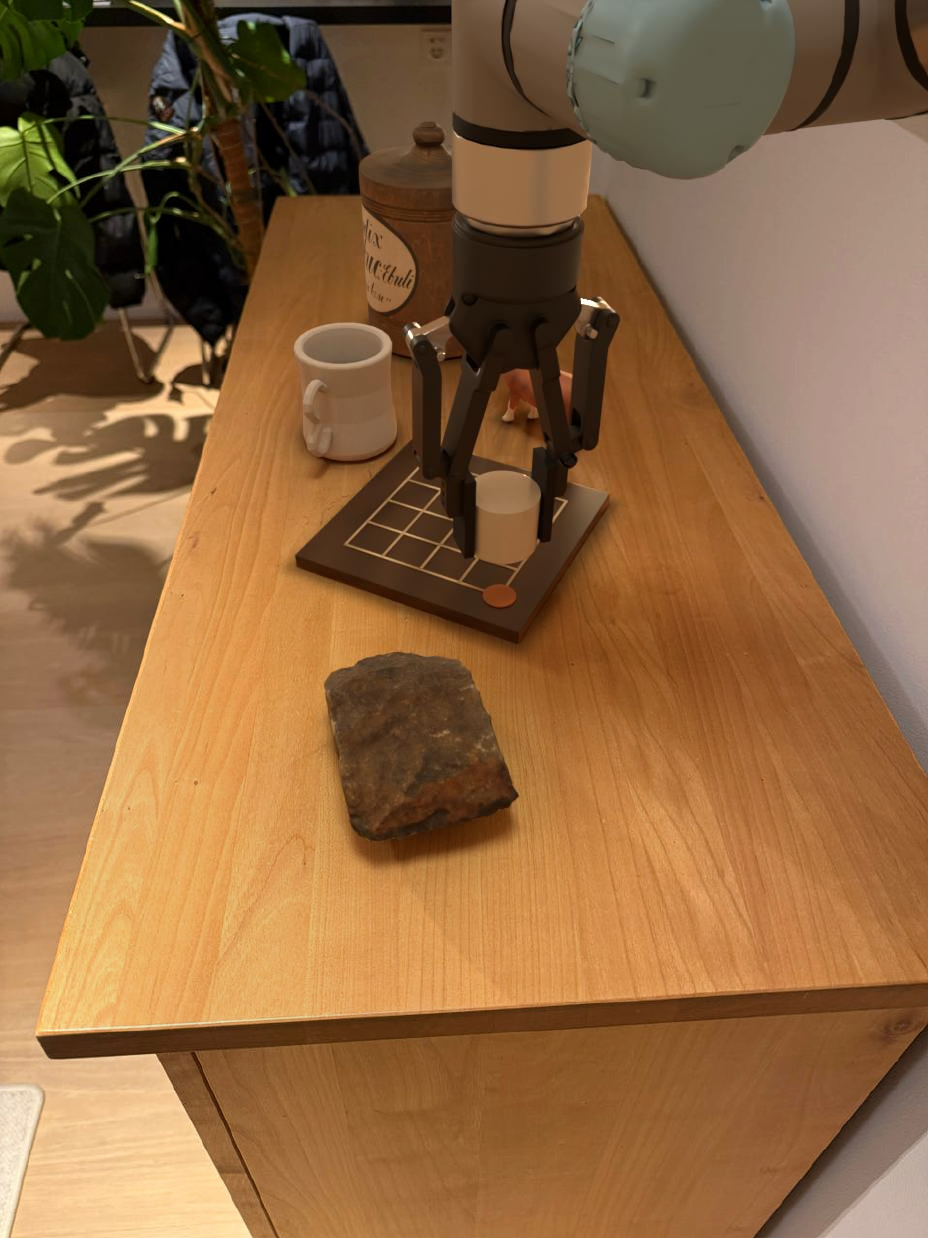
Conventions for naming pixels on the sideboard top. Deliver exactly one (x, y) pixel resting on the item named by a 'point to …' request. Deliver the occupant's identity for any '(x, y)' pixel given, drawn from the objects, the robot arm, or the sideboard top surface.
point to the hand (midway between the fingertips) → (501, 538)
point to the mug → (346, 391)
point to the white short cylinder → (506, 516)
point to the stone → (414, 746)
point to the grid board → (445, 550)
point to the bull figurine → (531, 392)
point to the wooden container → (408, 234)
